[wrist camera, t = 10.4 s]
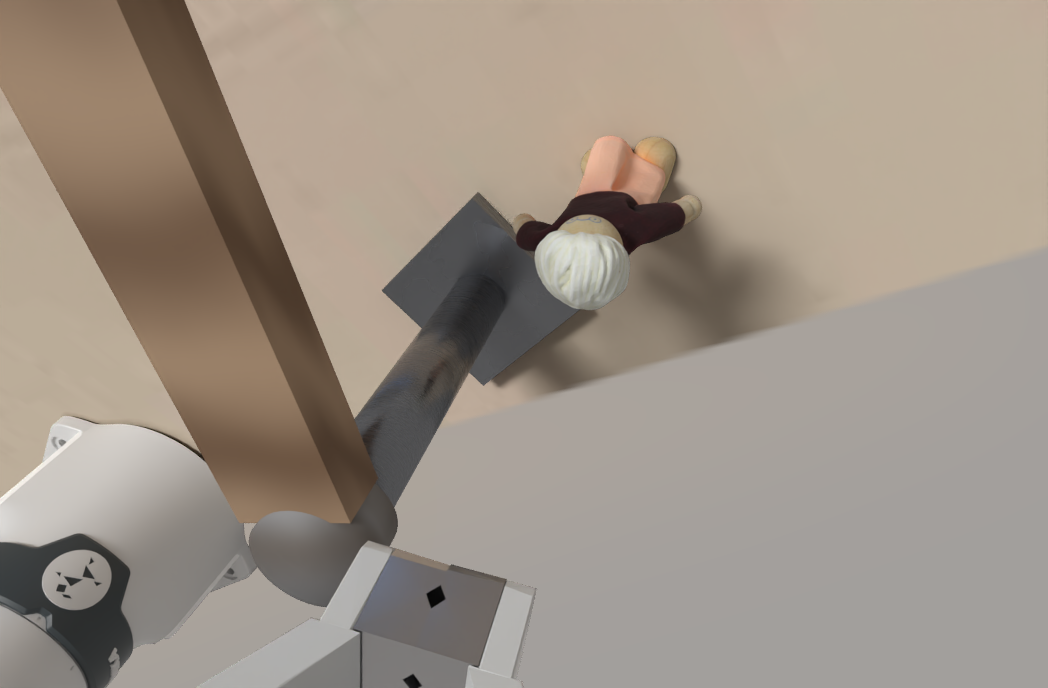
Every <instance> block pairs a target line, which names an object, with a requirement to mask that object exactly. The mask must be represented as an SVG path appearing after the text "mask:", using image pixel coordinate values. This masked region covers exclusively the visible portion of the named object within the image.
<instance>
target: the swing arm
mask: <svg viewBox="0 0 1048 688" xmlns="http://www.w3.org/2000/svg"><path fill="white" fill-rule="evenodd" d="M0 87H1V89H2V91H3V93H4V95H5V96H6V98H7V100H8V102H9V104H10V106H11V107H12V109H13V111H14V113H15V115H16V117H17V118H18V120H19V122H20V124H21V126H22V127H23V129H24V131H25V133H26V135H27V137H28V138H29V140H30V142H31V144H32V146H33V148H34V149H35V151H36V153H37V155H38V157H39V159H40V160H41V162H42V164H43V166H44V168H45V169H46V171H47V173H48V175H49V177H50V179H51V180H52V182H53V184H54V186H55V188H56V190H57V191H58V193H59V195H60V197H61V199H62V200H63V202H64V204H65V206H66V208H67V210H68V211H69V213H70V215H71V217H72V219H73V221H74V222H75V224H76V226H77V228H78V230H79V231H80V233H81V235H82V237H83V239H84V241H85V242H86V244H87V246H88V248H89V250H90V252H91V253H92V255H93V257H94V259H95V261H96V263H97V264H98V266H99V268H100V270H101V272H102V273H103V275H104V277H105V279H106V281H107V283H108V284H109V286H110V288H111V290H112V292H113V294H114V295H115V297H116V299H117V301H118V303H119V304H120V306H121V308H122V310H123V312H124V314H125V315H126V317H127V319H128V321H129V323H130V325H131V326H132V328H133V330H134V332H135V334H136V335H137V337H138V339H139V341H140V343H141V345H142V346H143V348H144V350H145V352H146V354H147V356H148V357H149V359H150V361H151V363H152V365H153V367H154V368H155V370H156V372H157V374H158V376H159V377H160V379H161V381H162V383H163V385H164V387H165V388H166V390H167V392H168V394H169V396H170V398H171V399H172V401H173V403H174V405H175V407H176V408H177V410H178V412H179V414H180V416H181V418H182V419H183V421H184V423H185V425H186V427H187V429H188V430H189V432H190V434H191V436H192V438H193V439H194V441H195V443H196V445H197V447H198V449H199V450H200V452H201V454H202V456H203V458H204V460H205V461H206V463H207V465H208V467H209V469H210V471H211V472H212V474H213V476H214V478H215V480H216V481H217V483H218V485H219V487H220V489H221V491H222V492H223V494H224V496H225V498H226V500H227V502H228V503H229V505H230V507H231V509H232V511H233V512H234V514H235V516H236V518H237V520H238V522H239V523H257V524H256V525H255V527H254V528H253V529H252V531H251V533H250V537H249V548H250V552H251V555H252V558H253V560H254V562H255V564H256V565H257V567H258V568H259V569H260V571H261V572H262V573H263V574H264V576H265V577H266V578H267V579H268V580H269V581H271V582H272V583H273V584H274V585H275V586H277V587H278V588H279V589H280V590H282V591H284V592H285V593H287V594H289V595H290V596H292V597H294V598H296V599H298V600H300V601H303V602H306V603H309V604H312V605H316V606H321V607H327V606H328V604H329V602H330V601H331V599H332V597H333V596H334V594H335V592H336V590H337V589H338V587H339V585H340V583H341V582H342V580H343V578H344V576H345V575H346V573H347V571H348V569H349V568H350V566H351V564H352V562H353V561H354V559H355V557H356V556H357V554H358V552H359V550H360V549H361V547H362V546H363V545H364V544H365V543H366V542H367V541H372V542H375V543H379V544H382V545H386V546H390V544H391V542H392V540H393V539H394V537H395V534H396V532H397V527H398V520H397V514H396V511H395V509H394V507H393V504H392V503H391V501H390V499H389V498H388V497H387V495H386V494H385V493H384V492H383V491H382V490H381V489H380V488H379V487H378V486H377V485H376V484H375V483H376V481H377V479H378V477H377V474H376V472H375V469H374V467H373V464H372V462H371V459H370V457H369V454H368V452H367V450H366V447H365V445H364V442H363V440H362V437H361V435H360V432H359V430H358V427H357V425H356V422H355V420H354V418H353V415H352V413H351V410H350V408H349V405H348V403H347V400H346V398H345V395H344V393H343V390H342V388H341V385H340V383H339V381H338V378H337V376H336V373H335V371H334V368H333V366H332V363H331V361H330V358H329V356H328V353H327V351H326V349H325V346H324V344H323V341H322V339H321V336H320V334H319V331H318V329H317V326H316V324H315V321H314V319H313V316H312V314H311V312H310V309H309V307H308V304H307V302H306V299H305V297H304V294H303V292H302V289H301V287H300V284H299V282H298V280H297V277H296V275H295V272H294V270H293V267H292V265H291V262H290V260H289V257H288V255H287V252H286V250H285V248H284V245H283V243H282V240H281V238H280V235H279V233H278V230H277V228H276V225H275V223H274V220H273V218H272V215H271V213H270V211H269V208H268V206H267V203H266V201H265V198H264V196H263V193H262V191H261V188H260V186H259V183H258V181H257V179H256V176H255V174H254V171H253V169H252V166H251V164H250V161H249V159H248V156H247V154H246V151H245V149H244V146H243V144H242V142H241V139H240V137H239V134H238V132H237V129H236V127H235V124H234V122H233V119H232V117H231V114H230V112H229V110H228V107H227V105H226V102H225V100H224V97H223V95H222V92H221V90H220V87H219V85H218V82H217V80H216V78H215V75H214V73H213V70H212V68H211V65H210V63H209V60H208V58H207V55H206V53H205V50H204V48H203V45H202V43H201V41H200V38H199V36H198V33H197V31H196V28H195V26H194V23H193V21H192V18H191V16H190V13H189V11H188V9H187V6H186V4H185V1H184V0H0Z"/></svg>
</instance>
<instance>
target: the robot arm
mask: <svg viewBox="0 0 1048 688" xmlns="http://www.w3.org/2000/svg"><path fill="white" fill-rule="evenodd" d="M256 568H257V565H256V564H255V562H254V560H253V558H252V555H251V552H250V548H249V546H248V544H247V543H246V540H245V535H244V523H239V522H238V520H237V518H236V516H235V514H234V512H233V511H232V509H231V507H230V505H229V503H228V502H227V500H226V498H225V496H224V494H223V492H222V491H221V489H220V487H219V485H218V483H217V481H216V480H215V478H214V476H213V474H212V472H211V471H210V469H209V467H208V465H207V463H206V462H205V461H204V460H202V459H201V458H200V457H199V456H197V455H196V454H195V453H194V452H192V451H191V450H189V449H188V448H186V447H185V446H183V445H182V444H180V443H178V442H176V441H175V440H173V439H171V438H169V437H167V436H165V435H163V434H160V433H158V432H155V431H153V430H150V429H146V428H143V427H139V426H134V425H127V424H106V425H103V424H94V423H91V422H88V421H85V420H82V419H79V418H75V417H71V416H63V417H61V418H60V419H59V420H58V421H57V422H56V423H54V424H53V425H52V427H51V429H50V433H49V437H48V441H47V445H46V450H45V454H44V458H43V462H42V464H40V465H39V466H38V467H37V468H36V469H34V470H33V471H32V472H31V473H30V474H28V475H27V476H26V477H25V478H24V479H23V480H21V481H20V482H19V483H18V484H17V485H15V486H14V487H13V488H12V489H11V490H10V491H8V492H7V493H6V494H5V495H4V496H2V497H1V498H0V688H106V687H107V686H108V685H109V683H110V682H111V681H112V680H113V679H114V678H115V677H116V675H117V674H118V671H119V669H120V668H121V667H122V665H123V664H124V663H125V662H126V661H127V660H128V658H129V657H130V655H131V653H132V651H133V649H134V648H136V647H138V646H141V645H144V644H155V643H157V642H158V641H160V640H162V639H163V638H165V639H169V638H171V637H172V636H173V635H174V634H175V633H176V632H177V631H178V630H179V629H180V627H181V626H182V625H183V624H184V623H185V621H186V620H187V619H188V618H189V616H190V615H191V614H192V613H193V612H194V611H195V609H196V608H197V607H198V606H199V604H200V603H201V602H202V601H203V600H204V598H205V597H206V596H207V595H208V594H209V593H210V592H212V591H214V590H217V589H220V588H222V587H225V586H228V585H230V584H232V583H235V582H238V581H240V580H243V579H246V578H247V577H249V576H250V574H251V573H252V572H253V571H254V570H255V569H256ZM535 595H536V588H533V587H530V586H526V585H523V584H519V583H515V582H512V581H508V580H507V579H504V578H500V577H496V576H493V575H489V574H485V573H481V572H477V571H474V570H470V569H466V568H463V567H459V566H455V565H447V564H444V563H441V562H437V561H434V560H431V559H428V558H425V557H421V556H418V555H415V554H412V553H408V552H405V551H402V550H399V549H396V548H392V547H389V546H386V545H382V544H379V543H375V542H372V541H367V542H366V543H365V544H364V545H363V546H362V547H361V549H360V550H359V552H358V554H357V556H356V557H355V559H354V561H353V562H352V564H351V566H350V568H349V569H348V571H347V573H346V575H345V576H344V578H343V580H342V582H341V583H340V585H339V587H338V589H337V590H336V592H335V594H334V596H333V597H332V599H331V601H330V602H329V604H328V606H327V608H326V609H325V611H324V613H323V615H322V616H321V618H320V620H318V619H314V618H310V619H308V620H307V621H305V622H303V623H302V624H300V625H298V626H297V627H295V628H293V629H292V630H290V631H288V632H287V633H285V634H283V635H282V636H280V637H278V638H277V639H275V640H274V641H272V642H270V643H269V644H267V645H265V646H264V647H262V648H261V649H259V650H257V651H255V652H254V653H252V654H250V655H249V656H247V657H245V658H244V659H242V660H240V661H239V662H237V663H235V664H234V665H232V666H230V667H229V668H227V669H225V670H224V671H222V672H221V673H219V674H217V675H216V676H214V677H212V678H211V679H209V680H207V681H206V682H204V683H202V684H201V685H199V686H198V687H196V688H524V686H523V683H522V681H520V680H517V679H516V678H517V674H518V670H519V666H520V662H521V658H522V653H523V649H524V644H525V640H526V635H527V631H528V626H529V622H530V617H531V613H532V608H533V604H534V599H535Z"/></svg>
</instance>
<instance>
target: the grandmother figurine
mask: <svg viewBox="0 0 1048 688" xmlns="http://www.w3.org/2000/svg"><path fill="white" fill-rule="evenodd" d="M675 158H676V153H675V149H674V147H673V146H672V144H671V143H670V142H669V141H667V140H665V139H663V138H658V137H649V138H646V139H644V140H642V141H641V142H639V143H638V145H637V146H636V147H635V149H634V153H633V151H632V149H631V148H630V146H629V145H628V144H627V143H626V141H624V140H623V139H621V138H618V137H615V136H605V137H602V138H599V139H598V140H596V142H595V144H594V146H593V148H592V149H590V150H589V151H588V152H587V153H586V154H585V155H584V156H583V159H582V162H581V170H582V173H583V178H582V181H581V185H580V187H579V189H578V191H577V194H576V196H575V198H574V199H572V200H571V202H570V203H569V204H568V206H567V208H566V209H565V211H564V212H563V213H562V214H561V216H560V217H559V218H558V219H557V220H556V221H555V222H554V223H553V224H552V225H550V224H547V223H544V222H538V221H536V220H535V219H534V218H533V217H532V216H531V215H529V214H520V215H518V216H517V217H516V218H515V219H514V221H513V230H514V232H515V233H516V234H517V235H516V243H517V245H518V246H519V247H520V248H521V249H524V250H527V251H533V252H535V257H534V258H535V264H536V269H537V273H538V275H539V277H540V279H541V281H542V284H544V285H545V287H546V289H547V290H548V291H549V292H550V293H551V294H552V295H553V296H554V297H556V298H557V299H559V300H560V301H562V302H563V303H565V304H567V305H568V306H570V307H572V308H576V309H585V310H595V309H599V308H601V307H603V306H605V305H606V304H607V303H609V302H610V301H611V300H613V299H615V298H616V297H617V296H619V295H620V294H621V293H622V292H623V291H624V290H625V288H626V286H627V283H628V279H629V272H630V260H629V255H630V254H631V252H633V251H634V250H635V249H636V248H637V247H639V246H640V245H642V244H646V243H650V242H653V241H656V240H659V239H661V238H663V237H665V236H667V235H670V234H673V233H675V232H677V231H679V230H680V229H681V228H682V227H683V226H684V225H686V224H687V223H689V222H690V221H692V220H694V219H696V218H697V217H698V216H699V215H700V213H701V210H702V204H701V202H700V200H699V199H698V198H697V197H696V196H693V195H686V196H684V197H682V198H681V199H679V200H676V201H674V202H672V203H666V202H665V203H657V202H658V200H659V197H660V195H661V192H663V191H664V190H665V188H666V186H667V184H668V181H669V178H670V175H671V172H672V169H673V166H674V163H675Z"/></svg>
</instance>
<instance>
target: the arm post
mask: <svg viewBox="0 0 1048 688" xmlns="http://www.w3.org/2000/svg"><path fill="white" fill-rule="evenodd" d="M516 235H517V234H516V233H515V232H514V230H513V227H512V226H511V225H510V224H509V223H508V222H507V221H506V220H505V219H504V218H503V217H502V216H501V215H500V214H499V213H498V212H497V211H496V210H495V209H494V208H493V207H492V206H491V205H490V204H489V203H488V202H487V201H486V200H485V199H484V198H483V197H482V196H481V195H480V194H479V193H477V194H476V195H475V196H474V197H473V198H472V199H471V200H470V201H469V202H468V203H467V204H466V205H465V206H464V207H463V208H462V209H461V210H460V211H459V212H458V213H457V214H456V215H455V216H454V217H453V218H452V219H451V220H450V221H449V222H448V223H447V224H446V225H445V226H444V227H443V228H442V229H441V230H440V231H439V232H438V233H437V234H436V235H435V236H434V237H433V238H432V239H431V241H430V242H429V243H428V244H427V245H426V246H425V247H424V248H423V249H422V250H421V251H420V252H419V253H418V254H417V255H416V256H415V257H414V258H413V259H412V260H411V261H410V262H409V263H408V264H407V265H406V266H405V267H404V268H403V269H402V270H401V271H400V272H399V273H398V274H397V275H396V276H395V277H394V278H393V279H392V280H391V281H390V282H389V283H388V284H387V285H386V287H385V288H384V289H383V290H382V291H383V292H384V293H385V294H386V295H387V296H388V297H389V298H390V299H391V300H392V301H393V302H394V303H395V304H396V305H398V306H399V307H400V308H401V309H402V310H403V311H404V312H405V313H406V314H407V315H408V316H409V317H410V318H411V319H413V320H414V321H415V322H416V323H417V324H418V325H419V326H420V327H421V328H422V329H421V330H420V332H419V333H418V334H417V336H416V337H415V338H414V340H413V341H412V343H411V344H410V345H409V347H408V348H407V349H406V351H405V352H404V353H403V355H402V356H401V357H400V359H399V360H398V361H397V363H396V364H395V365H394V367H393V368H392V369H391V371H390V372H389V373H388V375H387V376H386V377H385V379H384V380H383V382H382V383H381V384H380V386H379V387H378V388H377V390H376V391H375V392H374V394H373V395H372V396H371V398H370V399H369V400H368V402H367V403H366V404H365V406H364V407H363V408H362V410H361V411H360V412H359V414H358V415H357V417H356V418H355V419H354V420H355V422H356V425H357V427H358V430H359V432H360V435H361V437H362V440H363V442H364V445H365V447H366V450H367V452H368V454H369V457H370V459H371V462H372V464H373V467H374V469H375V472H376V474H377V477H378V479H377V481H376V483H375V484H376V485H377V486H378V487H379V488H380V489H381V490H382V491H383V492H384V493H385V494H386V495H387V497H388V498H389V499H390V501H391V503H392V504H393V507H395V505H396V503H397V501H398V499H399V497H400V496H401V494H402V492H403V490H404V489H405V487H406V485H407V483H408V481H409V480H410V478H411V476H412V474H413V472H414V471H415V469H416V467H417V465H418V463H419V461H420V460H421V458H422V456H423V454H424V452H425V451H426V449H427V447H428V445H429V444H430V442H431V440H432V438H433V436H434V435H435V433H436V431H437V429H438V427H439V426H440V424H441V422H442V420H443V418H444V417H445V415H446V413H447V411H448V409H449V408H450V406H451V404H452V402H453V400H454V399H455V397H456V395H457V393H458V391H459V390H460V388H461V386H462V384H463V382H464V381H465V379H466V377H467V375H468V373H470V374H472V375H473V376H474V377H475V378H476V379H477V380H478V381H479V382H480V383H481V384H482V385H483V386H484V385H485V384H486V383H487V382H489V381H490V380H491V379H492V378H494V377H495V376H496V375H497V374H499V373H500V372H501V371H503V370H504V369H505V368H506V367H508V366H509V365H510V364H511V363H513V362H514V361H515V360H516V359H518V358H519V357H520V356H522V355H523V354H524V353H525V352H527V351H528V350H529V349H530V348H532V347H533V346H534V345H535V344H537V343H538V342H539V341H541V340H542V339H543V338H544V337H546V336H547V335H548V334H549V333H551V332H552V331H553V330H554V329H556V328H557V327H558V326H560V325H561V324H562V323H563V322H565V321H566V320H567V319H568V318H570V317H571V316H572V315H573V314H575V313H576V312H577V311H579V310H580V309H576V308H572V307H570V306H568V305H567V304H565V303H563V302H562V301H560V300H559V299H557V298H556V297H554V296H553V295H552V294H551V293H550V292H549V291H548V290H547V289H546V287H545V285H544V284H542V281H541V279H540V277H539V275H538V273H537V269H536V264H535V258H534V257H535V252H533V251H527V250H524V249H521V248H520V247H519V246H518V245H517V243H516Z"/></svg>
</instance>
